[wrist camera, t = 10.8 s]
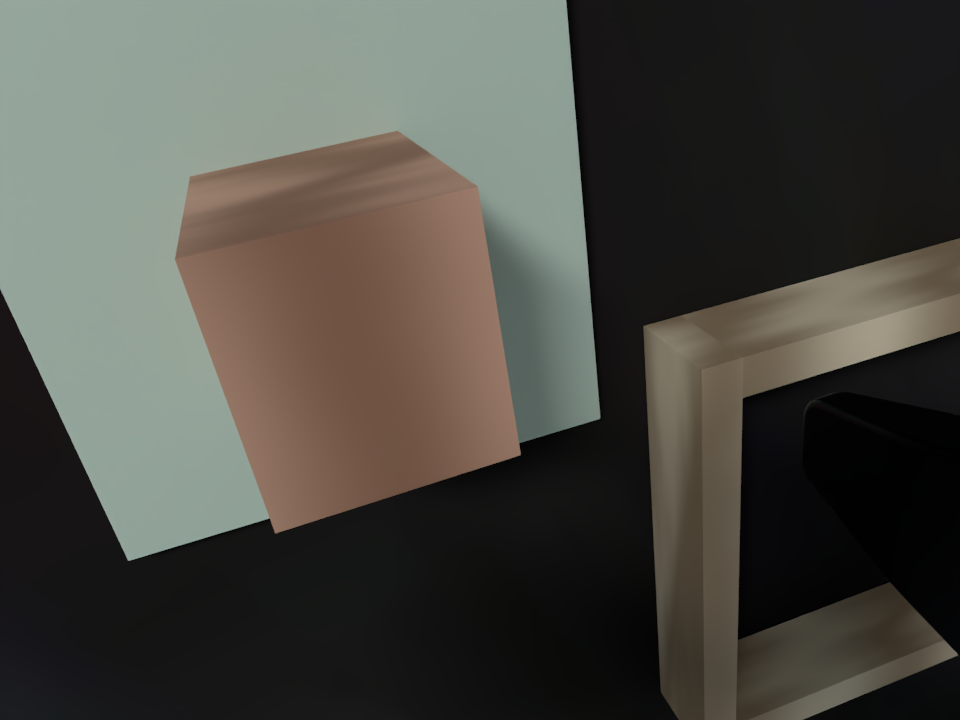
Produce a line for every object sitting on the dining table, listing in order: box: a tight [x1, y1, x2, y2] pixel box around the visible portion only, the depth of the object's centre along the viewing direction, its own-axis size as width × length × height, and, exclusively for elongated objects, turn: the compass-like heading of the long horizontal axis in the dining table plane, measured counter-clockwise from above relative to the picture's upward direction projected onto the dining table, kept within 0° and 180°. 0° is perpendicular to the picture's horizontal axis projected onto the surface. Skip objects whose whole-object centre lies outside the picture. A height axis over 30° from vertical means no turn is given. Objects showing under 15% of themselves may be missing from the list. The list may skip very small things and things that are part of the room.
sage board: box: [0, 0, 600, 561], centre depth 18 cm, size 13×13×1 cm
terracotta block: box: [175, 131, 521, 533], centre depth 15 cm, size 4×5×6 cm
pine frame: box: [643, 238, 960, 720], centre depth 25 cm, size 17×15×3 cm
